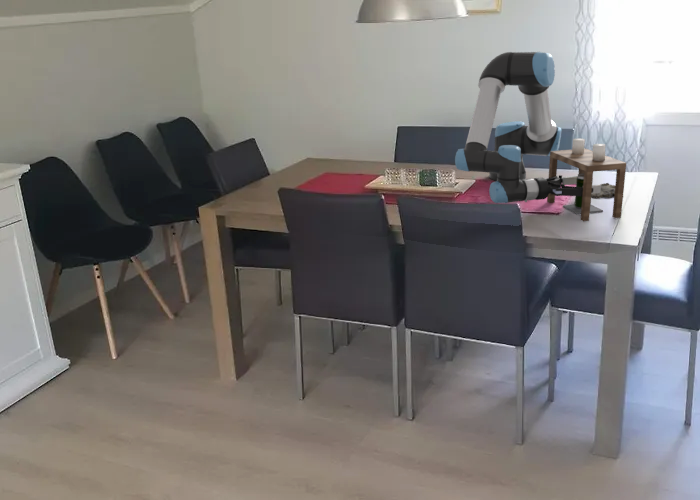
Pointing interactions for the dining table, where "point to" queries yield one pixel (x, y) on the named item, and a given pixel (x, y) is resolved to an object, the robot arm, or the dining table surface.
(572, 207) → the felt pad
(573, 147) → the white short cylinder
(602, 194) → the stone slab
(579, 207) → the beer can
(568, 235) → the dining table surface
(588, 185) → the walnut stand
